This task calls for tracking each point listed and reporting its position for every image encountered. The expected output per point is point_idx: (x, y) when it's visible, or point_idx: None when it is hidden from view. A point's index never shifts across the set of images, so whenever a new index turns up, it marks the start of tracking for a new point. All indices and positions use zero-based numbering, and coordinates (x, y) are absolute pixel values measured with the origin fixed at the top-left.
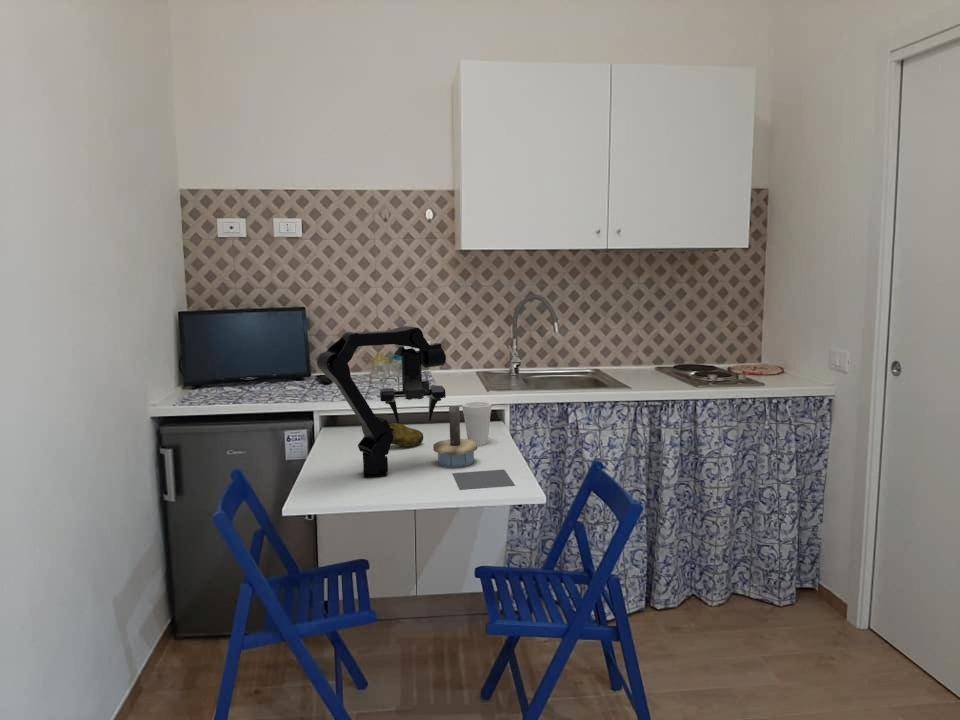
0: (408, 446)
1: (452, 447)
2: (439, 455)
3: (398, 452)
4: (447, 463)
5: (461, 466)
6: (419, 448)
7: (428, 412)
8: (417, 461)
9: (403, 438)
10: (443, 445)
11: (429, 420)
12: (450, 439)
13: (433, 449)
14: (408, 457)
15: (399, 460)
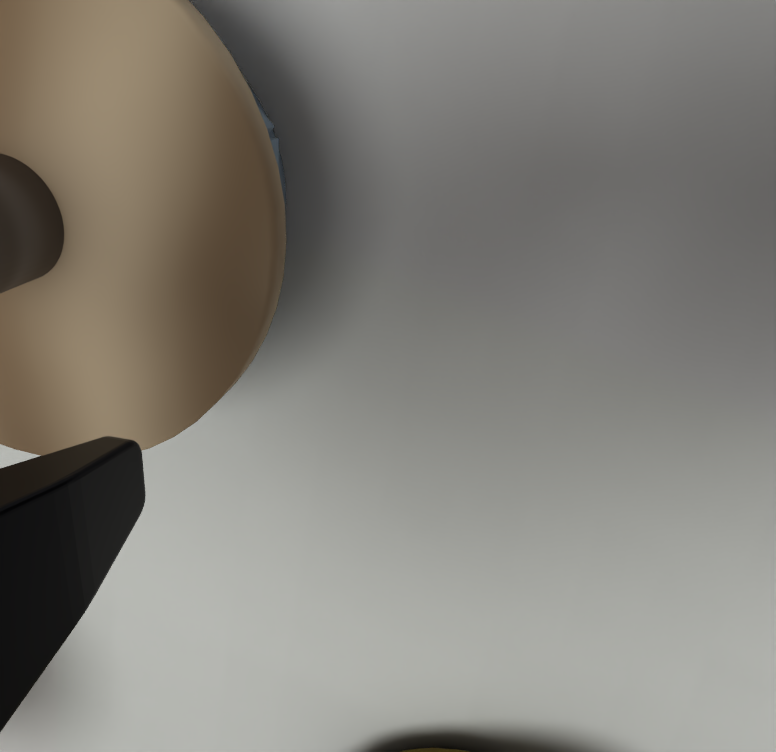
0: (456, 749)
1: (35, 90)
2: None
3: (562, 679)
4: None
5: None
6: (378, 698)
7: (27, 681)
8: (466, 381)
9: None
10: (144, 234)
11: (113, 446)
12: (5, 221)
13: (284, 263)
14: (517, 525)
15: (620, 475)
